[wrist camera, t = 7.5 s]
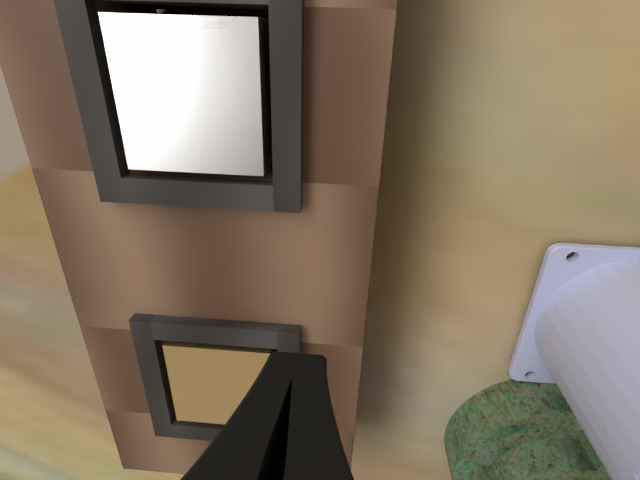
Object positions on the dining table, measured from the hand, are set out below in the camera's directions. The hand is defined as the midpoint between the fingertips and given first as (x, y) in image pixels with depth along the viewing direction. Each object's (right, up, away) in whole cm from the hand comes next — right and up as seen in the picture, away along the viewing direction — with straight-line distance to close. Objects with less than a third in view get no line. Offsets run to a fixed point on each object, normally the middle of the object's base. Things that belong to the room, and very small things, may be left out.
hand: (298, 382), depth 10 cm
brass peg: (-3, -1, +11) cm, 12 cm away
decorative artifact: (+13, -8, +14) cm, 21 cm away
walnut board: (-3, +4, +9) cm, 10 cm away
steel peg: (-3, +10, +6) cm, 12 cm away
